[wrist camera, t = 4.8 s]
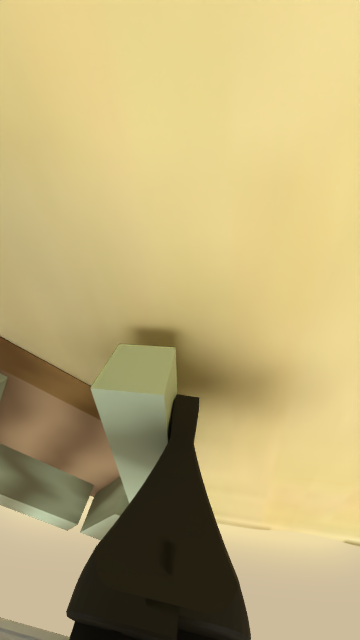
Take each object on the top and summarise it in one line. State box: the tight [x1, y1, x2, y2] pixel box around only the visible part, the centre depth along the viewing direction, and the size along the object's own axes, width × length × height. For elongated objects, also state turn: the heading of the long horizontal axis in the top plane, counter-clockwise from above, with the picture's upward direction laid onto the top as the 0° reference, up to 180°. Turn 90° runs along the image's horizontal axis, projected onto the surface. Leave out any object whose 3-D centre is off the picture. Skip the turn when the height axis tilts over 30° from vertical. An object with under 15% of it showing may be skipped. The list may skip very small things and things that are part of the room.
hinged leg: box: [90, 344, 177, 503], centre depth 12 cm, size 14×3×4 cm, turn 1°
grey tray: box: [0, 337, 129, 540], centre depth 18 cm, size 18×14×5 cm
